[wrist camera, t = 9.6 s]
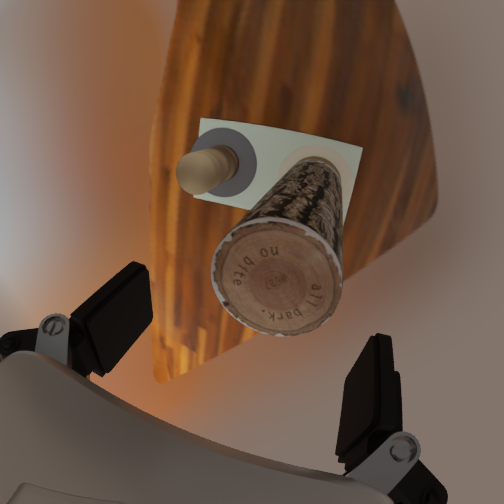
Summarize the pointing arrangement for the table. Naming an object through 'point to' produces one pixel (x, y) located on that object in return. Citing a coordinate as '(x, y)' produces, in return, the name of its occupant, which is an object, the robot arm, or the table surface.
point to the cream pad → (327, 154)
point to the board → (260, 158)
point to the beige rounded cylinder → (206, 169)
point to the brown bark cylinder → (286, 254)
